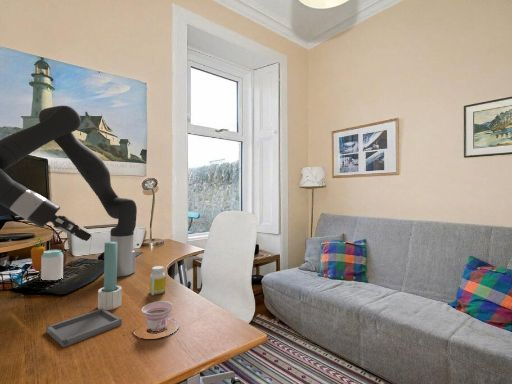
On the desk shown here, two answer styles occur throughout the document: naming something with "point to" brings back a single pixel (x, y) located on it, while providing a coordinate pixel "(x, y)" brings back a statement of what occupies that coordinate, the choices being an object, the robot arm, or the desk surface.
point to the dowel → (110, 266)
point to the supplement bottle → (157, 281)
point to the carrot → (37, 255)
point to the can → (52, 265)
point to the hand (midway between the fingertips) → (87, 238)
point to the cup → (109, 298)
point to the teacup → (158, 315)
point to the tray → (82, 326)
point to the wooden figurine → (59, 248)
